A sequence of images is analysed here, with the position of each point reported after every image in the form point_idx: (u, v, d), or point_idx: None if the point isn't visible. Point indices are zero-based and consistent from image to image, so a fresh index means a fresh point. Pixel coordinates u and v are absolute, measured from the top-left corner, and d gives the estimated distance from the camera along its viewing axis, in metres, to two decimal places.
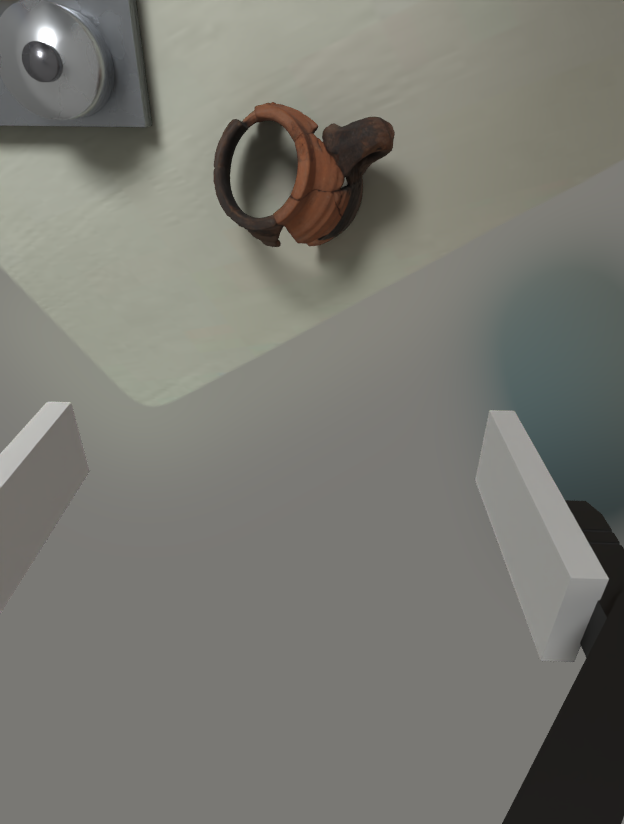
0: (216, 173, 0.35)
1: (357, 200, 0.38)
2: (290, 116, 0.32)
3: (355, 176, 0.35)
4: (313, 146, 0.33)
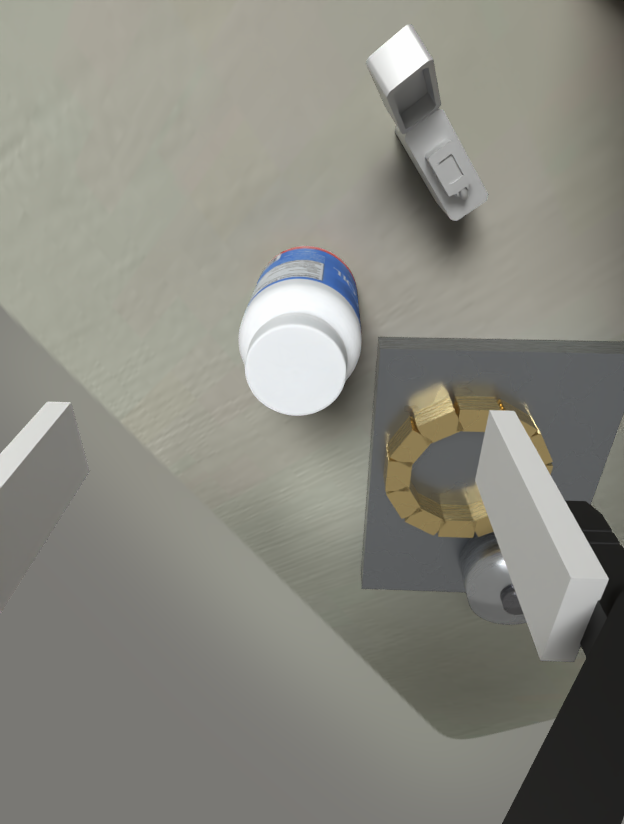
0: None
1: None
2: None
3: None
4: None
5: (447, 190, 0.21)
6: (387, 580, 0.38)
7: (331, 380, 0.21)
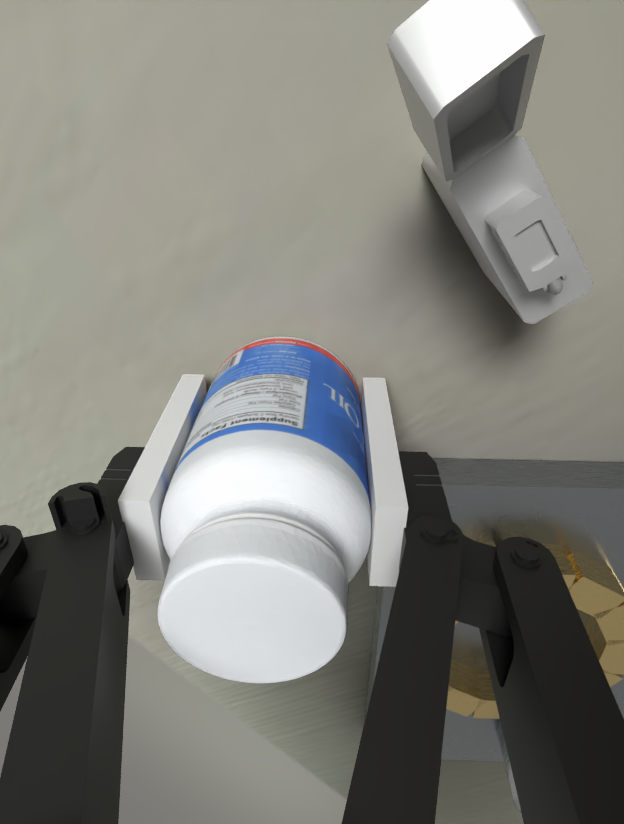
0: None
1: None
2: None
3: None
4: None
5: (527, 282, 0.12)
6: None
7: (319, 638, 0.11)
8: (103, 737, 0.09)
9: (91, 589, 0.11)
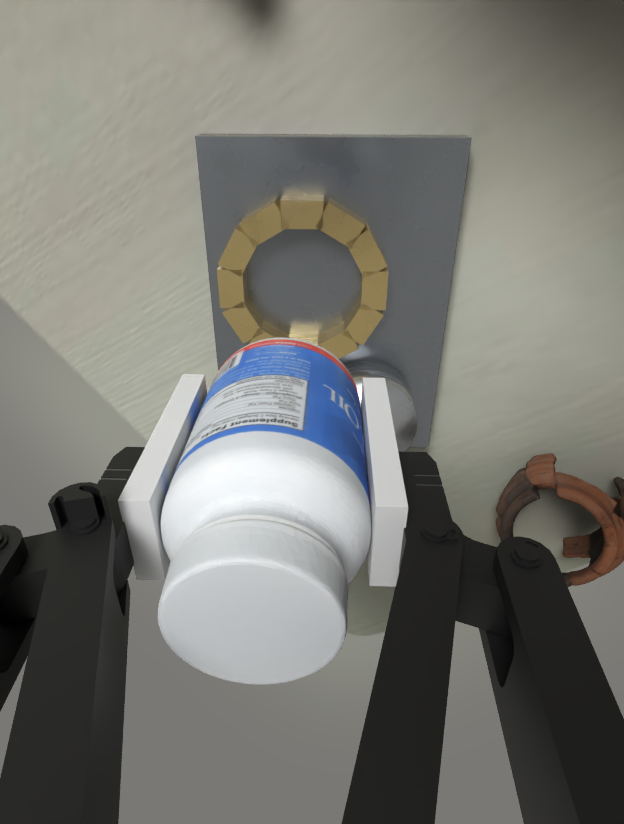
0: (505, 528, 0.37)
1: None
2: (599, 506, 0.34)
3: None
4: (616, 526, 0.35)
5: None
6: None
7: (319, 639, 0.11)
8: (103, 737, 0.09)
9: (91, 589, 0.11)
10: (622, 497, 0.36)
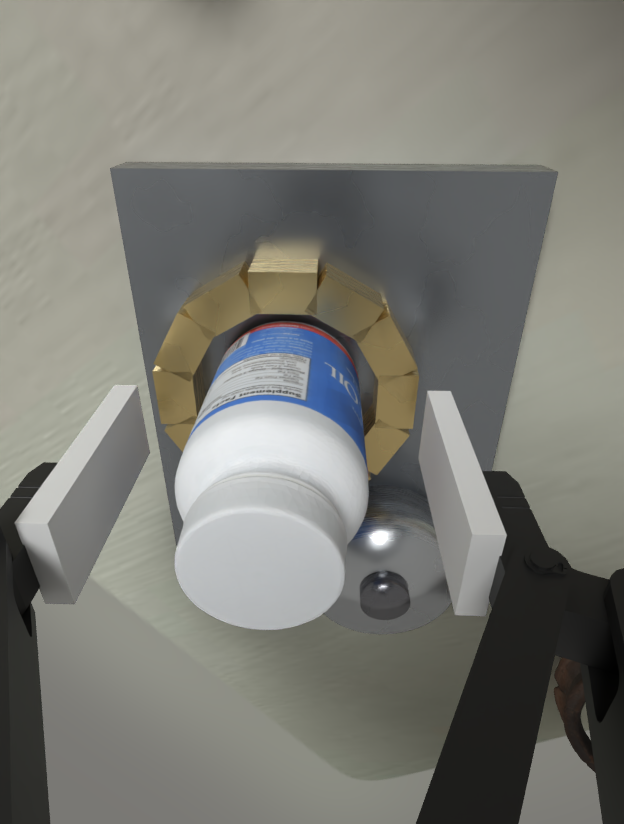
0: (570, 714, 0.27)
1: None
2: None
3: None
4: None
5: None
6: None
7: (320, 585, 0.12)
8: (24, 756, 0.09)
9: None
10: None
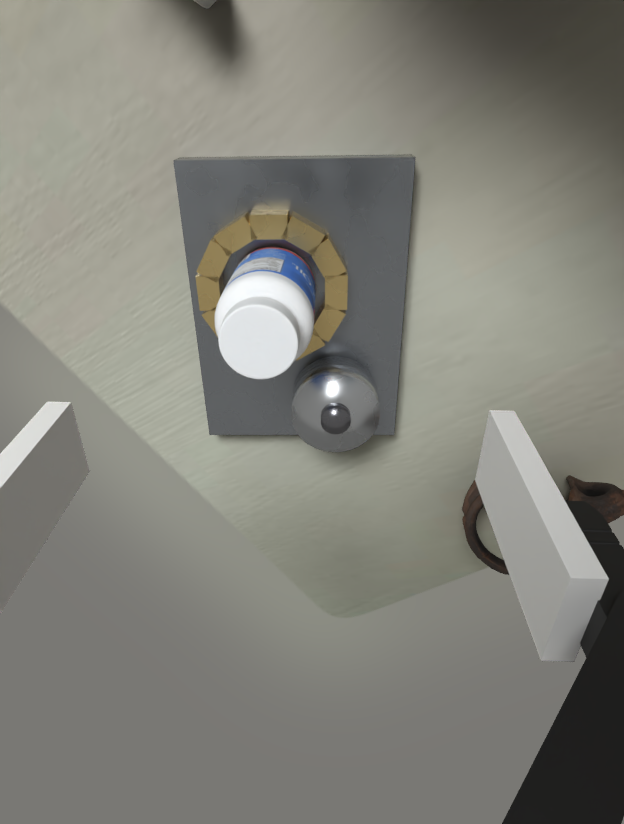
0: (468, 525, 0.42)
1: None
2: None
3: None
4: None
5: None
6: (231, 424, 0.40)
7: (287, 349, 0.27)
8: None
9: None
10: (570, 493, 0.40)
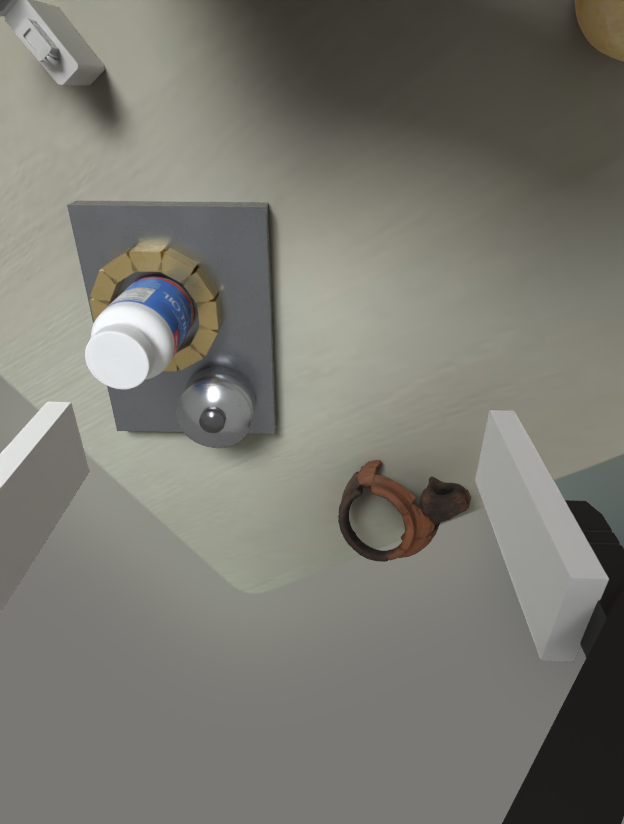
0: (341, 518, 0.49)
1: None
2: (398, 499, 0.46)
3: None
4: (414, 514, 0.46)
5: (36, 56, 0.30)
6: (135, 422, 0.47)
7: (140, 366, 0.33)
8: None
9: None
10: (422, 492, 0.47)
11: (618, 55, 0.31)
